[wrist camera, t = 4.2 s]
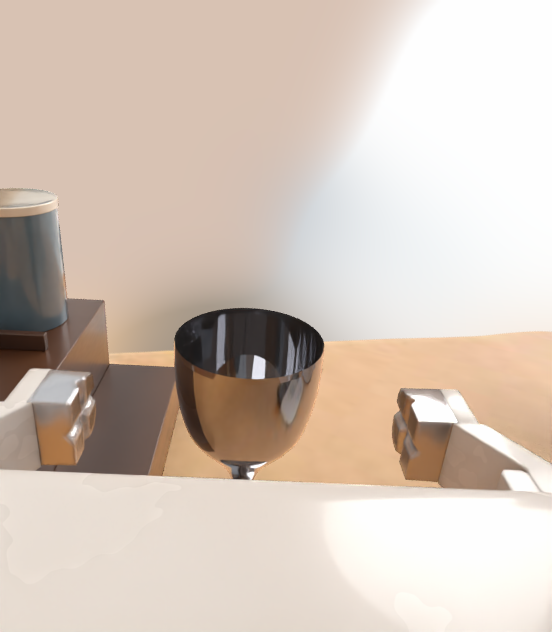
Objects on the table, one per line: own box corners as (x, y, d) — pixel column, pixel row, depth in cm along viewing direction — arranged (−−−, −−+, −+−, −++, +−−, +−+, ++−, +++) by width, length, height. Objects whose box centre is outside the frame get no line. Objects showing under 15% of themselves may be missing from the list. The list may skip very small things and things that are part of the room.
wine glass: (151, 541, 34) (142, 335, 28) (240, 481, 40) (249, 297, 33) (237, 625, 29) (250, 399, 23) (324, 543, 35) (354, 343, 28)
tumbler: (80, 304, 42) (69, 191, 38) (54, 338, 37) (38, 210, 33) (6, 300, 42) (-13, 185, 38) (-31, 334, 37) (-57, 205, 33)
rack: (179, 405, 48) (178, 287, 43) (135, 580, 31) (125, 422, 27) (9, 397, 47) (-11, 276, 42) (-125, 572, 31) (-185, 409, 26)
